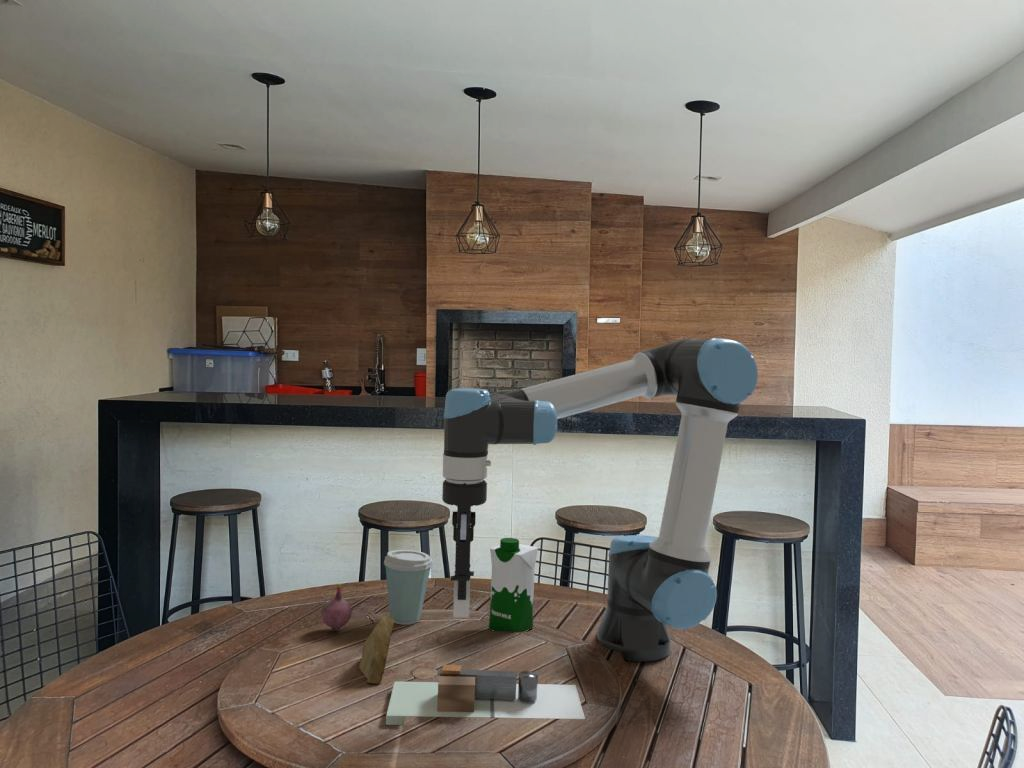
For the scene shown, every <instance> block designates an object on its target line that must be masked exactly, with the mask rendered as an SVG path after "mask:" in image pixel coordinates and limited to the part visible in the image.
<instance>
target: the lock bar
mask: <svg viewBox="0 0 1024 768" xmlns="http://www.w3.org/2000/svg"><path fill="white" fill-rule="evenodd" d="M517 675H518V676H517ZM439 676H454V677H475V698H480V699H501V700H516V684H517V677H518V684H519V685H518V699H519V700H520V701H522V702H534V701H536V700H537V684H539V683H538V679H539V678H538V677H539V675H538V673H537V672H536V671H532V670H522V671H519V674H517V671H509V670H490V669H489V670H488V669H486V670H485V669H468V668H467V669H465V668H462V665H461V664H460V665H459V664H443V666H442V667H440V669H439V674H438V677H439Z"/></svg>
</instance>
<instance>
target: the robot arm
mask: <svg viewBox="0 0 1024 768" xmlns="http://www.w3.org/2000/svg"><path fill="white" fill-rule="evenodd" d="M758 371H759V370H758V365H757V362H756V359H755V357H754V356H753V355H752V353H751V351H750V350H749V349H748V348H747V347H746V346H745V345H744V344H743V343H740V342H739V341H737V340H732V339H726V338H719V337H714V338H713V337H712V338H682V339H678V340H674V341H671V342H668V343H666V344H662V345H659V346H657V347H653V348H650V349H646V350H644V351H640V352H637V353H635V354H633V356H632V358H631V359H630V360H629V359H628V360H624V361H622V362H618V363H614V364H609V365H607V366H602V367H599V368H595V369H591V370H587V371H583V372H581V373H576V374H572V375H568V376H564V377H561V378H556V379H553V380H549V381H546V382H542V383H539V384H535V385H530V386H527V387H524V388H519V389H516V390H511V391H508V392H504V393H497V392H494V393H490V391H488V390H487V389H485V388H483V389H482V388H468V387H467V388H465V387H464V388H462V387H461V388H452V389H451V388H450V390H448V391H447V392H446V395H445V403H444V413H443V421H444V422H443V423H444V424H443V425H444V426H443V432H444V433H443V434H444V435H443V436H444V437H443V453H442V477H443V478H444V481H443V482H442V493H441V494H442V497H441V498H442V502H443V503H444V504H446V505H450V506H455V507H457V510H455V511H452V514H451V517H452V518H451V524H452V527H453V528H452V529H453V531H452V532H453V535H452V539H453V541H454V542H455V558H454V559H455V561H454V574H453V575H451V576H450V581H453V582H454V584H453V615H452V616H453V617H452V618H470V603H471V599H470V598H471V577H475V575H474V573H475V571H472V570H470V569H471V543H472V542H473V541H474V536H475V535H474V532H475V531H474V530H475V529H474V528H475V526H476V511H472V507H473V506H477V507H478V506H481V505H484V504H485V503H486V501H487V495H488V493H487V491H488V482H486V480H485V479H486V478H488V468H487V467H490V466H492V461H491V460H489V459H488V455H489V445H534V446H535V445H539V444H549V443H551V442H552V441H553V440H554V439H555V437H556V434H557V431H558V419H562V418H565V417H570V416H574V415H578V414H581V413H584V412H588V411H591V410H595V409H599V408H602V407H605V406H609V405H612V404H616V403H617V404H618V403H620V402H624V401H628V400H631V399H635V398H639V397H641V396H642V397H643V398H645V399H652V398H653V399H654V398H657V397H661V396H676V400H675V406H676V407H677V408H678V410H679V412H680V413H681V414H680V415H681V417H680V423H679V428H678V433H677V439H676V443H675V450H674V455H673V458H672V465H671V470H670V476H669V479H668V480H669V481H668V487H667V492H666V497H665V502H664V508H663V513H662V520H661V523H660V524H661V525H660V529H659V534H658V536H655V535H643V534H642V535H641V534H639V535H637V534H633V535H631V534H630V535H629V534H628V535H620V536H616V537H613V539H612V540H610V545H609V552H608V575H607V579H608V581H607V600H606V601H607V602H606V603H607V604H606V610H605V611H604V614H603V616H602V619H601V622H600V624H599V626H598V628H597V629H598V630H597V632H596V639H597V641H598V643H600V644H601V645H602V646H603V647H605V648H607V649H609V650H612V651H615V652H617V653H620V655H621V657H622V659H623V660H625V661H631V662H644V663H645V662H654V661H659V660H663V659H664V658H667V657H668V656H669V655H670V653H671V648H672V646H671V645H672V644H671V643H672V641H671V640H672V639H671V636H670V632H669V629H668V626H669V627H670V628H673V629H677V630H688V629H692V628H694V627H697V626H699V625H700V623H701V622H703V621H705V620H707V618H708V617H709V616H710V615H711V614H712V612H713V610H714V608H715V605H716V602H717V597H718V594H717V593H718V591H717V586H716V584H715V583H714V581H713V579H712V576H710V575H709V572H710V565H711V559H712V557H711V556H710V555H709V553H708V551H707V550H706V548H705V546H706V542H707V536H708V530H709V526H710V520H711V515H712V508H713V503H714V500H715V499H714V498H715V493H716V487H717V484H718V483H717V482H718V478H719V474H720V473H719V471H720V468H721V463H722V462H721V461H722V457H723V452H724V451H723V449H724V446H725V439H726V436H727V430H728V424H729V423H730V421H732V420H734V419H735V418H736V417H737V416H738V415H739V411H740V407H741V403H742V402H744V401H746V400H747V399H748V397H749V396H751V395H753V393H754V391H755V390H756V388H757V384H758V378H759V373H758ZM487 459H488V460H487Z"/></svg>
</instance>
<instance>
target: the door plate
mask: <svg viewBox="0 0 1024 768" xmlns="http://www.w3.org/2000/svg"><path fill="white" fill-rule="evenodd" d="M518 685H519V683H516V700H501V699H480V698H475V702H474V712H437V702H438V682H436V681H435V682H433V681H394V683H393V686H392V691H391V696H390V699H389V703H388V708H387V712H386V716H385V719H386V721H385V726H386V725H387V726H404V725H405V719H406V717H424V718H425V717H427V718H428V717H429V718H431V717H434V718H437V717H438V718H489V719H490V718H492V719H493V718H494V719H539V720H541V719H545V720H548V719H553V720H555V719H557V720H586V716H585V714H584V711H583V707H582V704H581V699H580V696H579V693H578V689H577V686H576V684H553V683H549V684H547V683H545V684H543V683H542V684H541V683H540V684H539V683H537V700H536V701H534V702H522V701H520V700H519V699H518Z"/></svg>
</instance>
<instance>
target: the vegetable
mask: <svg viewBox="0 0 1024 768" xmlns="http://www.w3.org/2000/svg"><path fill="white" fill-rule="evenodd" d="M336 587H337V588H336V593H335V594H336V595H335V597H334V598H333V599H330V600H329V601H327V602H326V604H324V605H323V607H322V608H321V612H320V613H321V614H320V615H321V620H322V622H323V623H324V624H325V626H327V627H329V628H331V629H332V630H333V631H338V630H340V628H342V627H344V626H346V625H347V624H348V623H349V621H350V619H351V617H352V613H353V611H352V610H353V609H352V607H351V605H350V604H349V602H347V601H346V600H345V599H343V598H342V586H341V583H340V582H337V584H336Z"/></svg>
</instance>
